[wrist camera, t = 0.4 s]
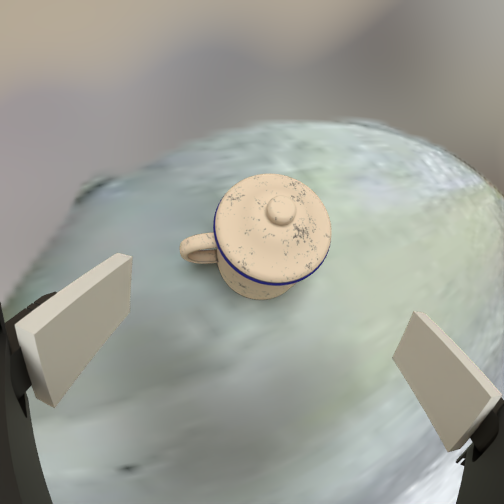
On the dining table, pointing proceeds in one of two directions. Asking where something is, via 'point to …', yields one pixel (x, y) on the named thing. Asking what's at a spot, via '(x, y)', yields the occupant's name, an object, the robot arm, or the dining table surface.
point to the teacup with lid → (264, 236)
